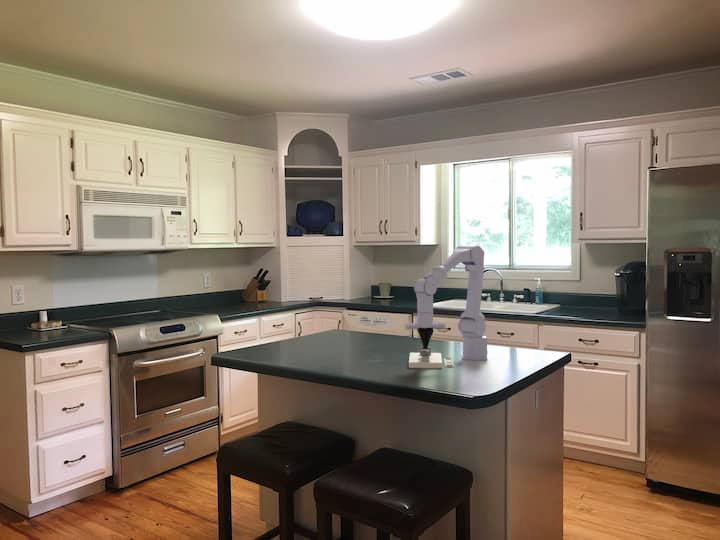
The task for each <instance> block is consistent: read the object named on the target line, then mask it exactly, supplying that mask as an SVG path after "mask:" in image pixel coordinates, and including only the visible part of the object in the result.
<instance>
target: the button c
mask: <svg viewBox="0 0 720 540" xmlns="http://www.w3.org/2000/svg"><path fill="white" fill-rule="evenodd" d="M419 353H420V356H422V362H429V356H431V353H432V349H431V350H420V349H419Z"/></svg>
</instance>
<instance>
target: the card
mask: <svg viewBox="0 0 720 540" xmlns="http://www.w3.org/2000/svg"><path fill="white" fill-rule="evenodd" d="M443 362H444V367H445V368H455V365H454V361H453V358H452V357H444V358H443Z"/></svg>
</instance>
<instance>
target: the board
mask: <svg viewBox="0 0 720 540" xmlns="http://www.w3.org/2000/svg"><path fill="white" fill-rule="evenodd" d="M408 368H409V369H411V368H412V369H443V359H442V353H441V352H431V356H429V362H422V356H420V352H409V359H408Z"/></svg>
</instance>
